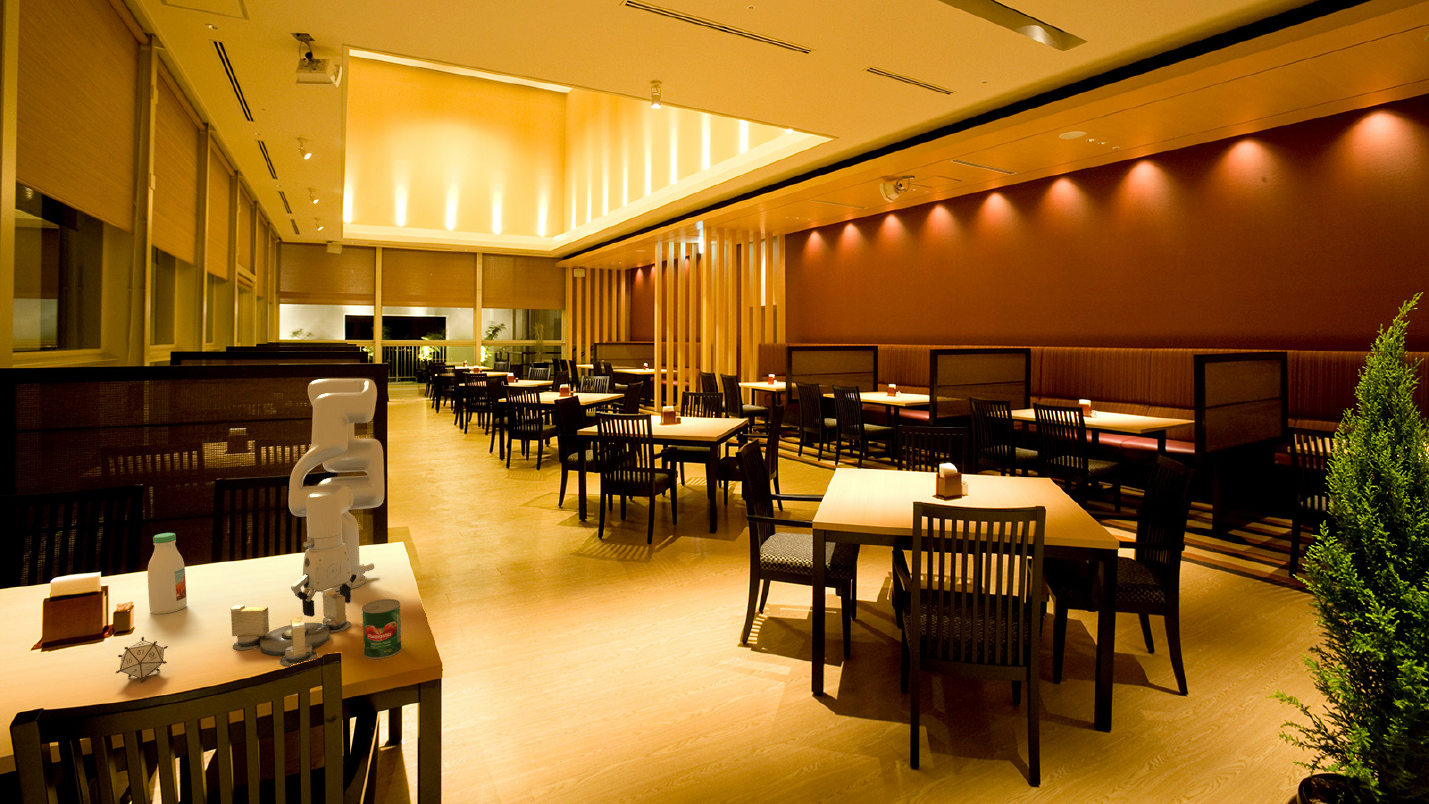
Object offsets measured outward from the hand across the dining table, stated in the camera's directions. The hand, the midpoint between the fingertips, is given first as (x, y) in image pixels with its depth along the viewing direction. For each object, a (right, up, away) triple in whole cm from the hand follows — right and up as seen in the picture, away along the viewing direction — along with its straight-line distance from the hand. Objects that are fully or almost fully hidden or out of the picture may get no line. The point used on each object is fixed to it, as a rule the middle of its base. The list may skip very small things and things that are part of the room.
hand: (327, 608), depth 173 cm
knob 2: (+4, -6, -18) cm, 19 cm away
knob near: (+2, -4, -1) cm, 5 cm away
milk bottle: (-47, -3, +10) cm, 48 cm away
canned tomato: (+20, -6, -14) cm, 25 cm away
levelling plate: (-1, -5, -7) cm, 9 cm away
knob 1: (-12, -5, -10) cm, 17 cm away
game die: (-24, -7, -27) cm, 37 cm away
